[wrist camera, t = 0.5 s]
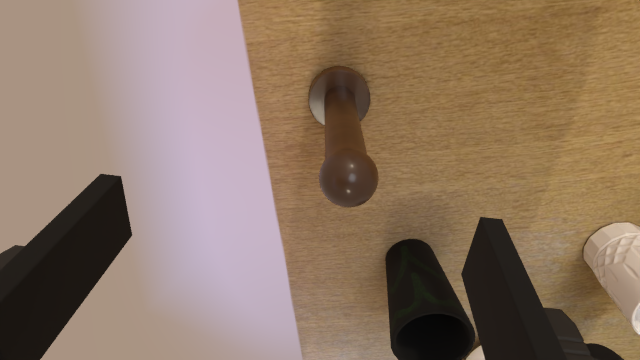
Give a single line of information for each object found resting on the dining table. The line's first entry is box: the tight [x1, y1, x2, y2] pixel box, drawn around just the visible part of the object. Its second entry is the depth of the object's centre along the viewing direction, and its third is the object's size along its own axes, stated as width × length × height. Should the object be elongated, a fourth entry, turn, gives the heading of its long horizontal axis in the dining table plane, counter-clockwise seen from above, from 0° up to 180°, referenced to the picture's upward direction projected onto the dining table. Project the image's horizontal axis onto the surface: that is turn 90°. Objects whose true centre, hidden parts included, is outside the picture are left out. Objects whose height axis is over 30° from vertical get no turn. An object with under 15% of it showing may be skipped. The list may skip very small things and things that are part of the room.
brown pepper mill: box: [309, 66, 378, 207], centre depth 33 cm, size 6×6×18 cm
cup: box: [386, 239, 475, 360], centre depth 45 cm, size 8×8×12 cm
